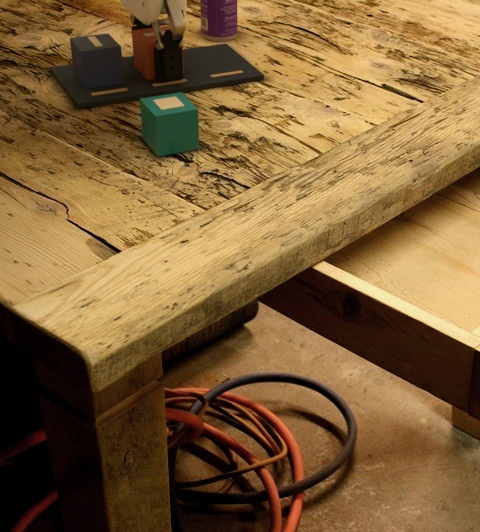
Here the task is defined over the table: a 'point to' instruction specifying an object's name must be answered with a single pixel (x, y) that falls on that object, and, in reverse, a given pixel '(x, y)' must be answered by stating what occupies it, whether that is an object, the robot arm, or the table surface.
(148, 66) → the orange cube
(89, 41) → the striped navy gift box
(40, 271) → the table surface
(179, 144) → the green cube
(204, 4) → the container
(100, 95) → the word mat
